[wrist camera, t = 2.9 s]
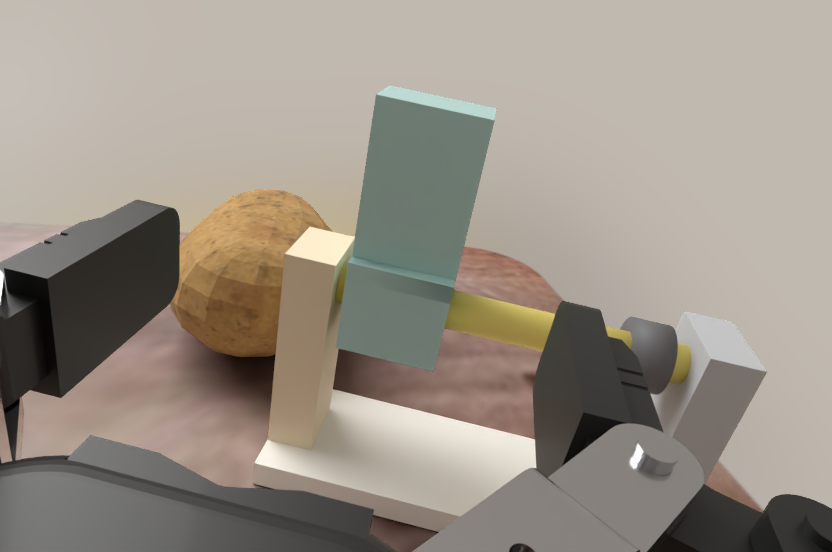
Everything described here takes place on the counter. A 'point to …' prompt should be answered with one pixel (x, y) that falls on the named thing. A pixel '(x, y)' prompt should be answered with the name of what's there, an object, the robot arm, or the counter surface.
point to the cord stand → (451, 439)
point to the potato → (240, 271)
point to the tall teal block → (412, 224)
